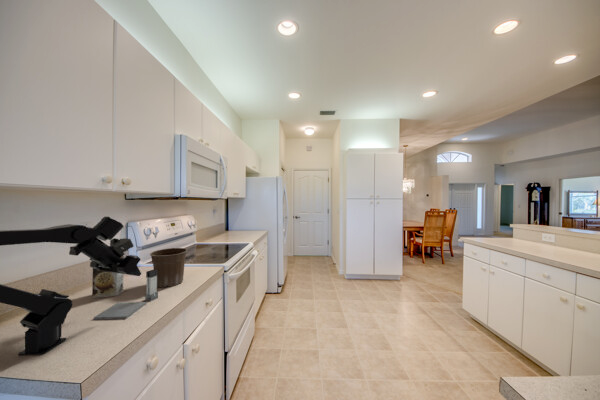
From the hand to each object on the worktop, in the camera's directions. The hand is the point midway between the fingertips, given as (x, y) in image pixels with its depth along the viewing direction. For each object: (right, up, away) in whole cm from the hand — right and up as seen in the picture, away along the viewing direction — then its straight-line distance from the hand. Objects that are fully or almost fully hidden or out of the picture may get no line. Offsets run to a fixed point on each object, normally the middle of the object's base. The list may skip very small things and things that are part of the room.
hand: (131, 273), depth 85 cm
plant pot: (-1, -14, +26) cm, 29 cm away
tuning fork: (+2, -13, +8) cm, 16 cm away
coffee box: (-20, -14, +12) cm, 27 cm away
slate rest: (-2, -13, -3) cm, 14 cm away
